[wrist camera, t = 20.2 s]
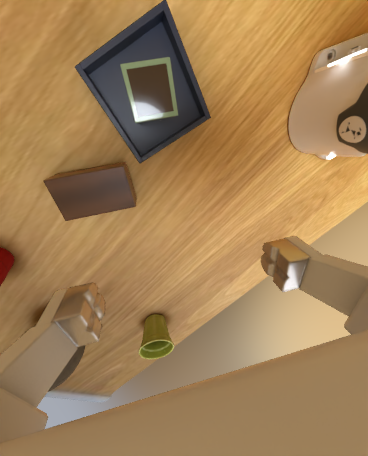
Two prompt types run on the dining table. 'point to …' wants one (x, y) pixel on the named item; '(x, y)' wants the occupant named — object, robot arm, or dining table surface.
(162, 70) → the green box
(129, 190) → the walnut block
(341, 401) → the robot arm
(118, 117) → the tray
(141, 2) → the dining table surface
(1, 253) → the plastic cup
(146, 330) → the plant pot
